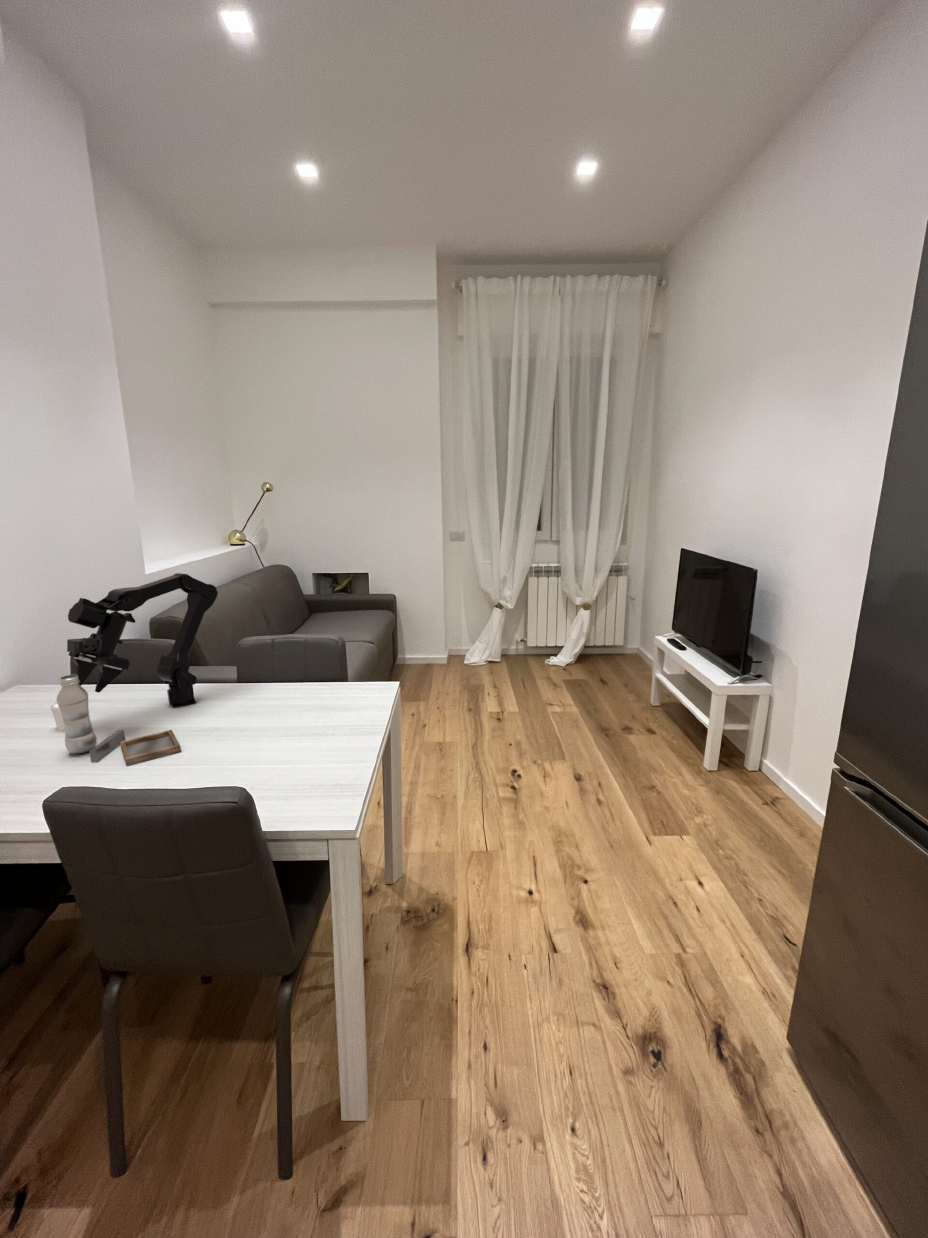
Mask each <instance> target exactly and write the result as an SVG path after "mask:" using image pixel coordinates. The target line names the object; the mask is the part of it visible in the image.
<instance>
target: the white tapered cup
mask: <svg viewBox="0 0 928 1238" xmlns="http://www.w3.org/2000/svg"><path fill="white" fill-rule="evenodd" d="M50 709H51V713H52V717H53V719H54V721H55V725H56V727H57V728H56V729H57V730H58V731H60V732H65V726H64V720H63V718H62V714H61V711H60V709H59V706H58V704H57V702H55V703H53V704H51V705H50Z"/></svg>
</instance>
